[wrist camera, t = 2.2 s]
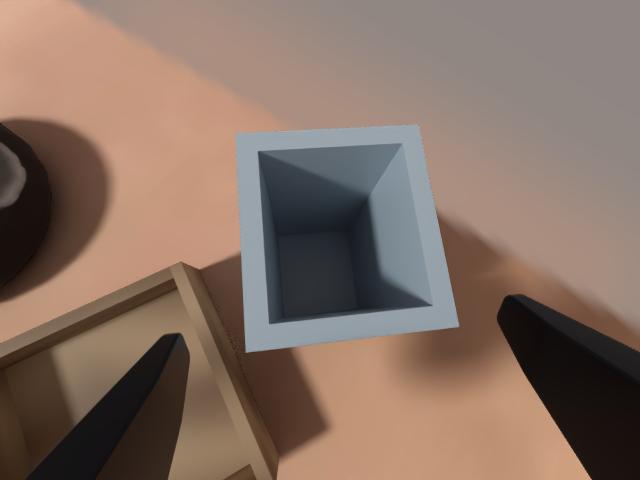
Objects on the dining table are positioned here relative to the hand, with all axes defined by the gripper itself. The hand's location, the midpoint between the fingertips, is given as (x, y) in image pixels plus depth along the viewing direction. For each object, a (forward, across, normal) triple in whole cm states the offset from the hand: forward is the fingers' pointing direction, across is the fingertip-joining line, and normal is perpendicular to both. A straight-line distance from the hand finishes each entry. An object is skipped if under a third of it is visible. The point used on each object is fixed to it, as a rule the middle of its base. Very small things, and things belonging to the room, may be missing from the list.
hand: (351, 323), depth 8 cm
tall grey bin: (+9, 0, +5) cm, 10 cm away
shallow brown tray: (+4, +10, +10) cm, 15 cm away
